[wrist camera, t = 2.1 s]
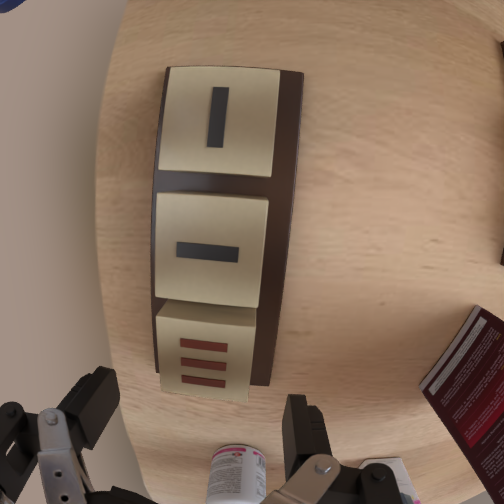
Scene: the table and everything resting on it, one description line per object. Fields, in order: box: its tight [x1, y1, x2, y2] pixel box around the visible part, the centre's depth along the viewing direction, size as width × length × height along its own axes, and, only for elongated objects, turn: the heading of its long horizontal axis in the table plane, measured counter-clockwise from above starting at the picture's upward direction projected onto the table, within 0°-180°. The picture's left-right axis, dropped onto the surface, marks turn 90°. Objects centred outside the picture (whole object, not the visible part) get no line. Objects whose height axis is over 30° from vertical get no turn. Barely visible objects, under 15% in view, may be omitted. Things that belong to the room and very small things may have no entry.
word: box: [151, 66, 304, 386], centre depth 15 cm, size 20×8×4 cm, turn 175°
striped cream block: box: [156, 299, 256, 402], centre depth 16 cm, size 5×5×4 cm
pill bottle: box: [206, 445, 266, 504], centre depth 18 cm, size 5×5×8 cm
